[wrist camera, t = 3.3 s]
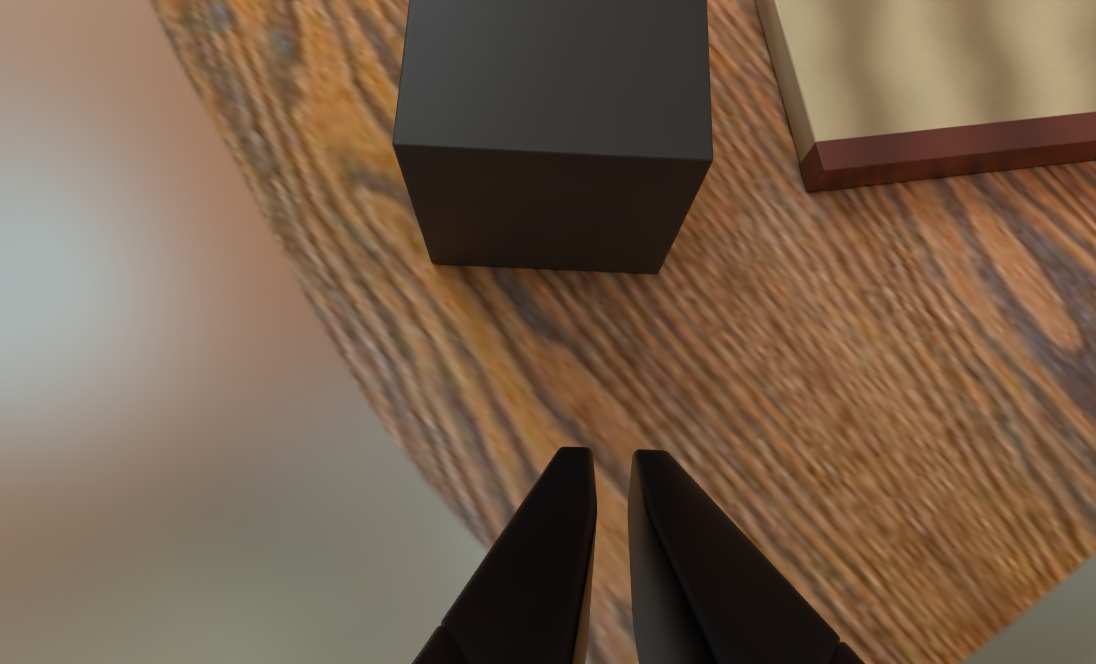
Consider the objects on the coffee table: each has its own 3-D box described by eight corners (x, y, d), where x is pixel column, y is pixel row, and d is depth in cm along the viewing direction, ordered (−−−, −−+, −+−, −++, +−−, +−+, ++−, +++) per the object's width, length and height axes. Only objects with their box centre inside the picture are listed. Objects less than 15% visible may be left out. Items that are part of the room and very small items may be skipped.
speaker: (662, 274, 24) (720, 161, 17) (431, 264, 24) (391, 145, 17) (658, -1, 28) (704, -190, 21) (457, -12, 28) (433, -205, 21)
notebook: (806, 192, 25) (823, 170, 24) (745, -25, 28) (757, -57, 27) (1160, 153, 26) (1198, 129, 25) (1066, -54, 29) (1095, -86, 28)
